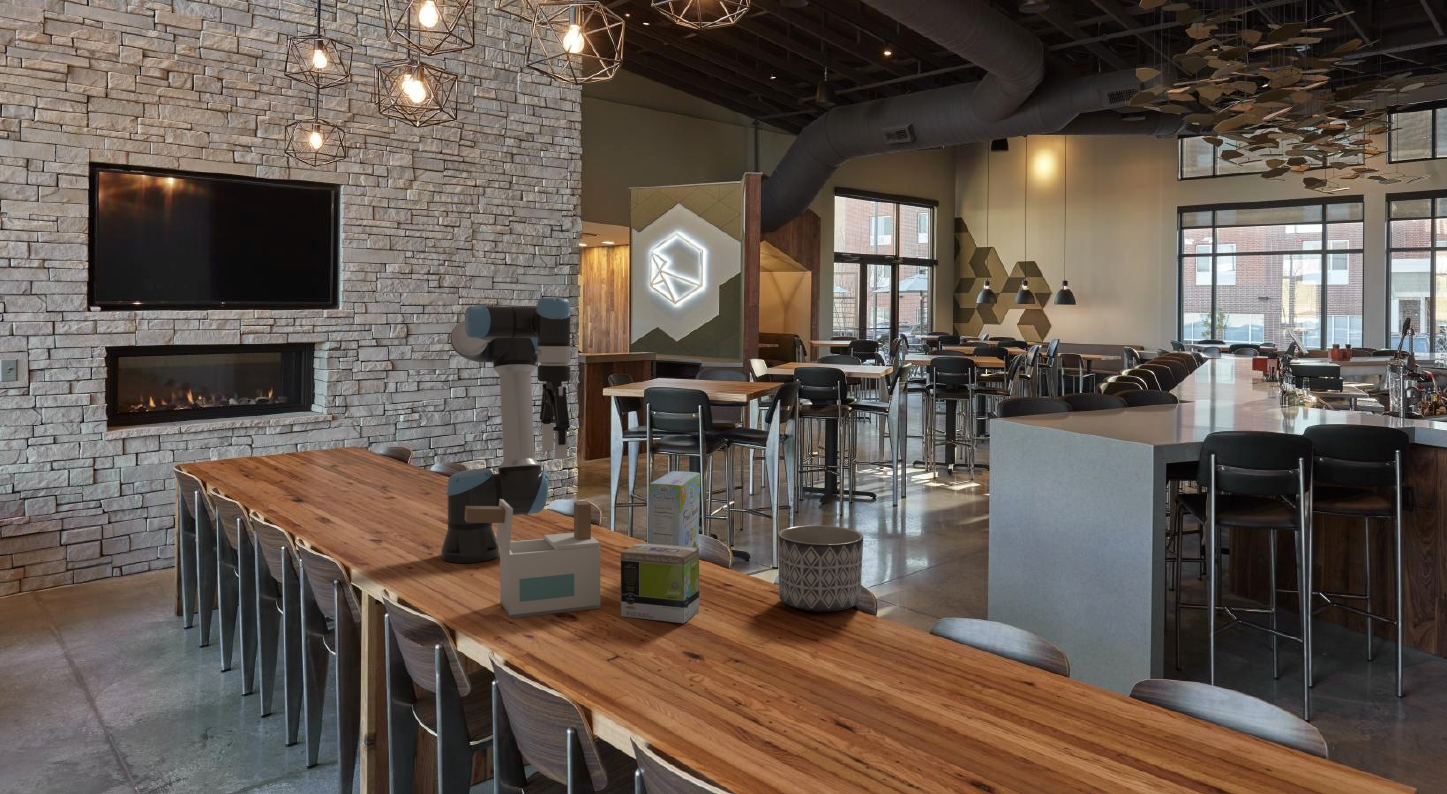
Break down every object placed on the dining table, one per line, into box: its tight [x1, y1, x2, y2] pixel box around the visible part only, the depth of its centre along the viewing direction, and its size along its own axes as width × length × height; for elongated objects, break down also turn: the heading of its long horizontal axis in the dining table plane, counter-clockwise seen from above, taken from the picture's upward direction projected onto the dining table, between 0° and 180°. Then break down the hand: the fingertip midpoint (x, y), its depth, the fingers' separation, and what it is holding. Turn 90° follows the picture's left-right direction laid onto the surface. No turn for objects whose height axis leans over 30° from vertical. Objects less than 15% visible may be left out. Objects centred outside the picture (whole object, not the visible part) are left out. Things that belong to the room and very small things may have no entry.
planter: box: [777, 524, 864, 613], centre depth 213 cm, size 19×19×16 cm
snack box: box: [647, 470, 701, 548], centre depth 234 cm, size 22×9×26 cm, turn 168°
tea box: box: [620, 542, 700, 624], centre depth 206 cm, size 15×10×15 cm, turn 71°
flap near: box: [464, 499, 514, 554], centre depth 204 cm, size 12×10×9 cm
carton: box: [499, 500, 601, 620], centre depth 211 cm, size 12×20×23 cm, turn 114°
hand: (554, 454), depth 220 cm, fingers open, 13 cm apart
